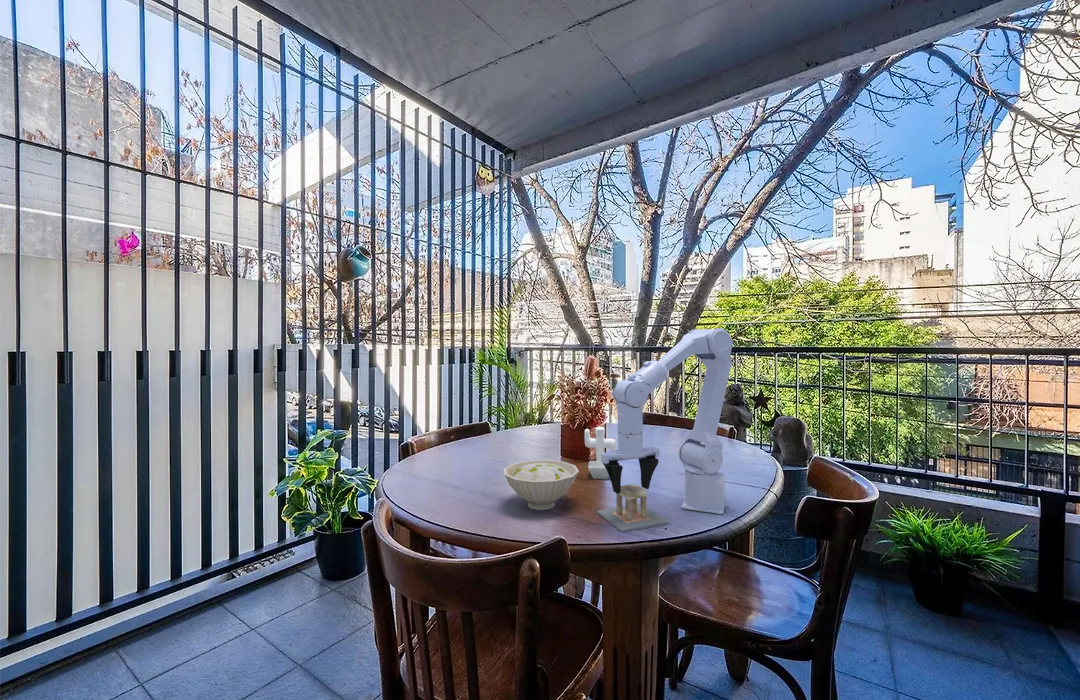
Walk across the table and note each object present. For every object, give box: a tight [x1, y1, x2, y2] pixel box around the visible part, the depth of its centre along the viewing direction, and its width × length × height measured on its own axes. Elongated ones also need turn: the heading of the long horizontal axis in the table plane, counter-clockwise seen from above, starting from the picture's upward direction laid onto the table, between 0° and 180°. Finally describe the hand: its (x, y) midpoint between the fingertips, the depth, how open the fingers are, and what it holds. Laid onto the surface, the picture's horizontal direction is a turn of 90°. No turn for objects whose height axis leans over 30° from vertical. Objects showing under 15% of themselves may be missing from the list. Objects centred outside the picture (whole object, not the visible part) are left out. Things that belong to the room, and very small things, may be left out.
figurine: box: [584, 426, 617, 480], centre depth 139 cm, size 7×9×15 cm
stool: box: [615, 483, 648, 521], centre depth 107 cm, size 5×5×6 cm
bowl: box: [503, 459, 580, 511], centre depth 116 cm, size 19×19×10 cm
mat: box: [596, 503, 669, 533], centre depth 107 cm, size 12×12×1 cm
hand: (631, 490), depth 107 cm, fingers open, 7 cm apart
